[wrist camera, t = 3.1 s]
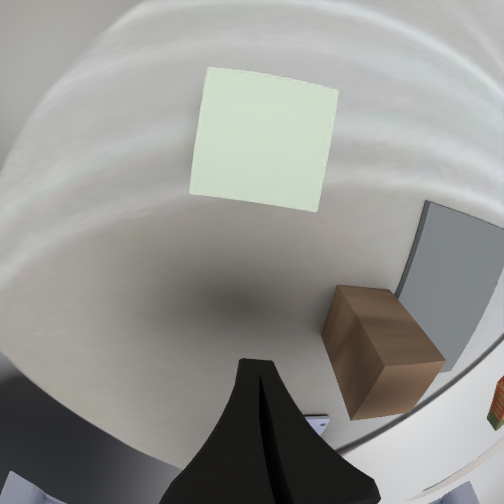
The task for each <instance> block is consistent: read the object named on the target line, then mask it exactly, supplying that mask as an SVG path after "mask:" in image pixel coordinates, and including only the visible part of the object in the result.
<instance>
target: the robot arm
mask: <svg viewBox="0 0 504 504" xmlns="http://www.w3.org/2000/svg"><path fill="white" fill-rule="evenodd" d="M329 422H330V418H329V417H328V416H311V417H304V416H303V414H302V413H301V411H300V410H299V409H298V407H297V406H296V404H295V402H294V401H293V399H292V397H291V396H290V394H289V392H288V391H287V389H286V387H285V385H284V383H283V381H282V380H281V378H280V376H279V373H278V371H277V369H276V367H275V365H274V362H273V361H270V360H257V359H246V358H242V359H240V360H239V364H238V370H237V375H236V381H235V385H234V388H233V391H232V394H231V396H230V399H229V401H228V403H227V405H226V407H225V410H224V412H223V414H222V416H221V418H220V419H219V421H218V423H217V425H216V426H215V428H214V430H213V431H212V433H211V435H210V436H209V438H208V439H207V441H206V442H205V444H204V445H203V446H202V448H201V449H200V450H199V452H198V453H197V454H196V456H195V457H194V458H193V459H192V461H191V462H190V463H189V464H188V465H187V467H186V468H185V469H184V470H183V471H182V472H181V473H180V474H179V475H178V476H177V477H176V478H175V479H174V480H173V481H172V482H171V484H170V486H169V487H168V489H167V490H166V492H165V494H164V495H163V497H162V498H161V501H160V503H159V504H377V503H379V501H380V500H381V497H380V494H379V490H378V487H377V485H376V483H375V481H374V479H372V478H371V477H369V476H368V475H366V474H365V473H363V472H361V471H360V470H358V469H357V468H355V467H354V466H353V465H351V464H350V463H349V462H347V461H346V460H345V459H344V458H342V457H341V456H340V455H339V454H338V453H337V452H336V451H335V450H334V449H333V448H331V447H330V446H329V445H328V444H327V443H326V442H325V441H324V440H323V439H322V438H321V437H320V435H321V434H322V432H323V431H324V429H325V428H326V426H327V425H328V423H329ZM0 504H65V503H63V502H61V501H59V500H57V499H55V498H53V497H51V496H49V495H47V494H45V493H44V492H43V491H42V490H41V489H39V488H38V487H37V486H35V485H33V484H32V483H30V482H28V481H27V480H25V479H23V478H22V477H20V476H19V475H17V474H15V473H14V472H12V471H10V473H9V475H8V477H7V480H6V483H5V486H4V488H3V490H2V493H1V496H0ZM429 504H479V501H478V499H477V496H476V494H475V492H474V489H473V487H472V485H471V483H470V481H468V482H466V483H464V484H462V485H460V486H459V487H457V488H455V489H453V490H452V491H450V492H448V493H447V494H445V495H444V496H443V497H442V498H440V499H438V500H436V501H433V502H431V503H429Z"/></svg>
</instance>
